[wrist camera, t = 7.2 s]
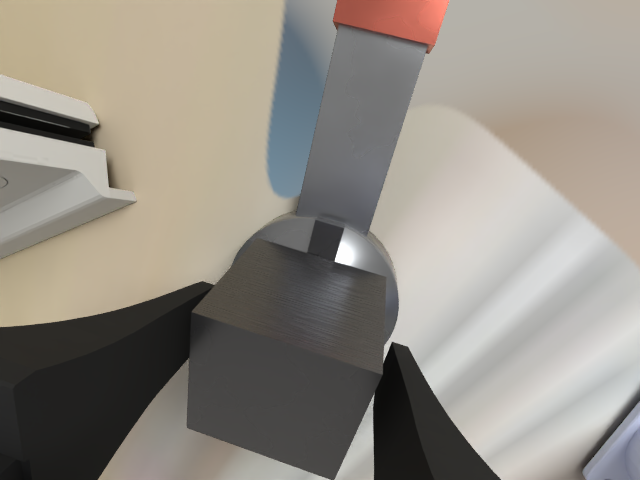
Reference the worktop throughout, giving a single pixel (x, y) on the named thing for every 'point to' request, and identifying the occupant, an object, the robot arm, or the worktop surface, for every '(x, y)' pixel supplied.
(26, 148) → the white electronic device
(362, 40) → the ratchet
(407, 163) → the worktop surface
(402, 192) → the worktop surface
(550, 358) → the worktop surface
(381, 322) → the brushed grey cube
